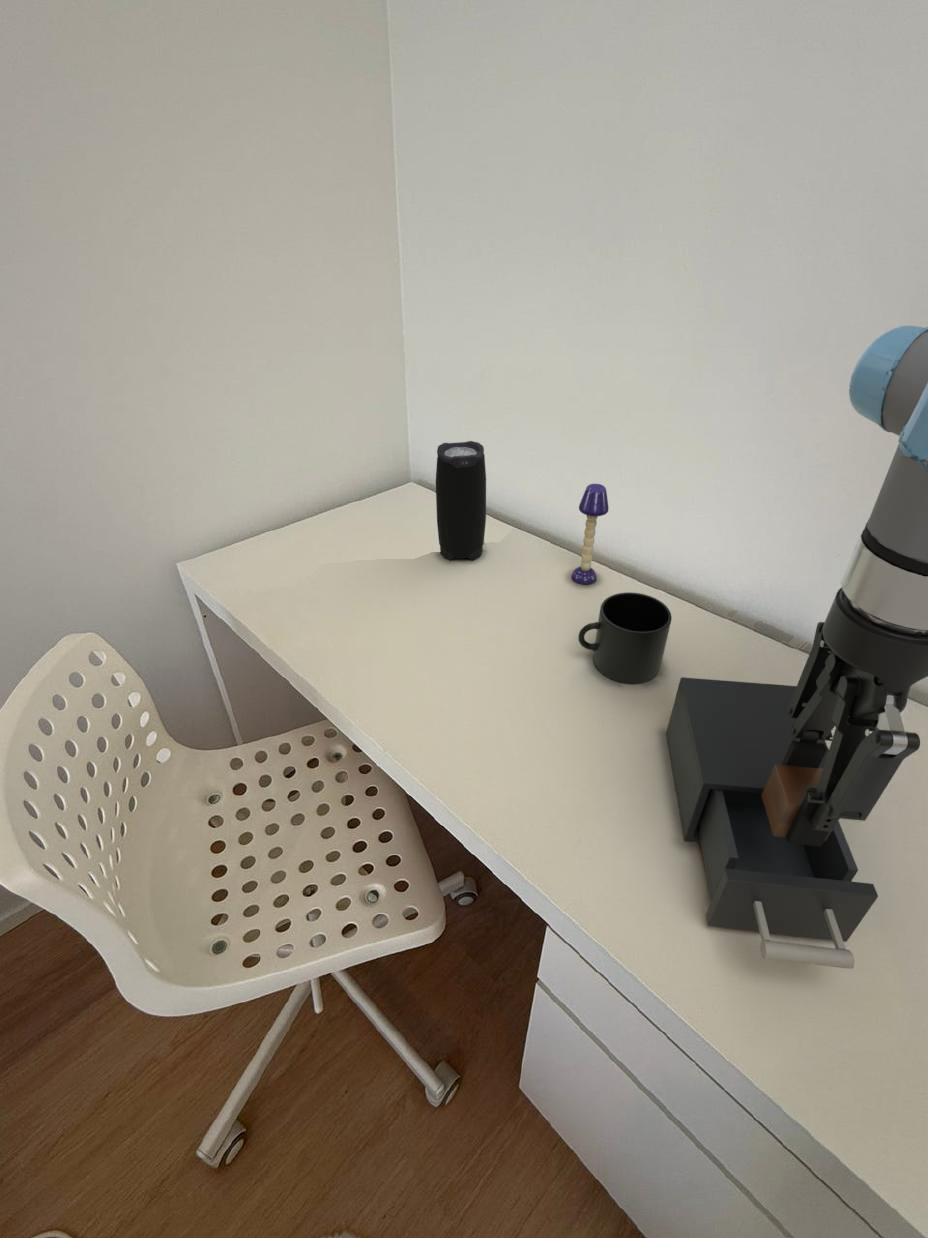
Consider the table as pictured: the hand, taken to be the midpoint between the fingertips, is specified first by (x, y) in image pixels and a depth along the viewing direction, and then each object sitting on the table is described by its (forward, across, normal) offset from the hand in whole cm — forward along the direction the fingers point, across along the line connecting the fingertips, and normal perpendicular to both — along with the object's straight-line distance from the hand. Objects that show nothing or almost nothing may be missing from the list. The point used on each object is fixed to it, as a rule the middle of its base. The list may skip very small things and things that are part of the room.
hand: (795, 816), depth 58 cm
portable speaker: (+12, +61, +38) cm, 73 cm away
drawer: (+11, 0, 0) cm, 11 cm away
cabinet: (+12, +12, 0) cm, 17 cm away
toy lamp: (+12, +55, +16) cm, 59 cm away
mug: (+12, +33, +12) cm, 37 cm away
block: (0, 0, 0) cm, 0 cm away
